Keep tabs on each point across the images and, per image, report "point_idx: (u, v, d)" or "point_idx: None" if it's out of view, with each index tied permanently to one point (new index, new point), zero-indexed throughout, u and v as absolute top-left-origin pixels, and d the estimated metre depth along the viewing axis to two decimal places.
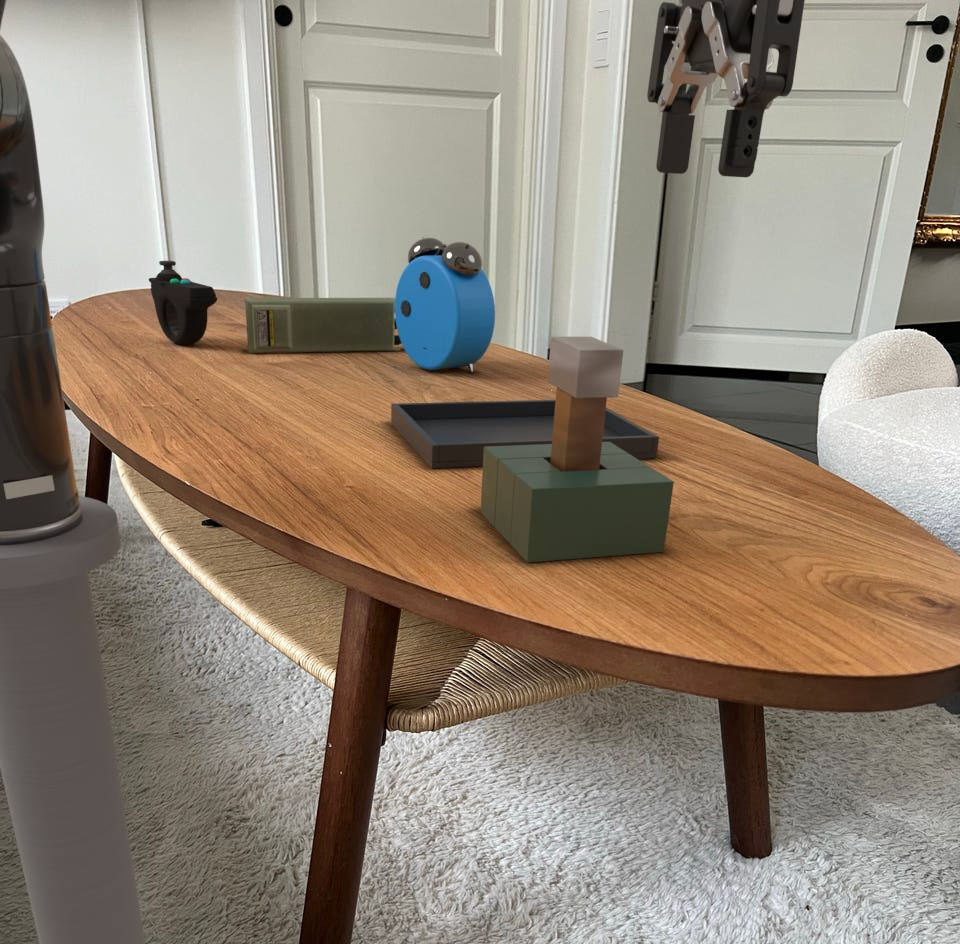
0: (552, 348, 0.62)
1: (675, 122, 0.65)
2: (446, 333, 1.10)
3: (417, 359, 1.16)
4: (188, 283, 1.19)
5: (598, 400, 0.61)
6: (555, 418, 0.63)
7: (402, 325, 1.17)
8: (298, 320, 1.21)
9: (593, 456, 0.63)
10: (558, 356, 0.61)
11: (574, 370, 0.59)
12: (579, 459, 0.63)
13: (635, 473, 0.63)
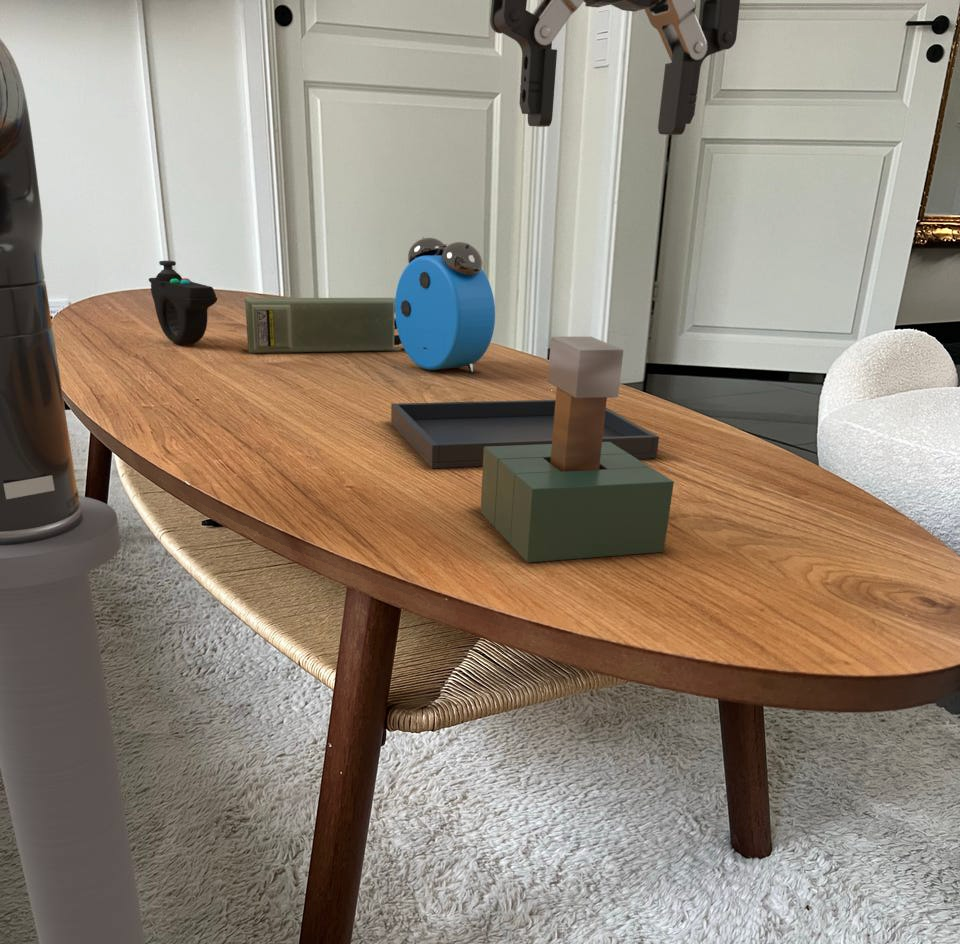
0: (552, 348, 0.62)
1: (670, 73, 0.55)
2: (447, 332, 1.10)
3: (417, 359, 1.16)
4: (188, 283, 1.19)
5: (598, 400, 0.61)
6: (555, 418, 0.63)
7: (402, 325, 1.17)
8: (298, 320, 1.21)
9: (593, 456, 0.63)
10: (558, 356, 0.61)
11: (574, 370, 0.59)
12: (579, 459, 0.63)
13: (635, 473, 0.63)
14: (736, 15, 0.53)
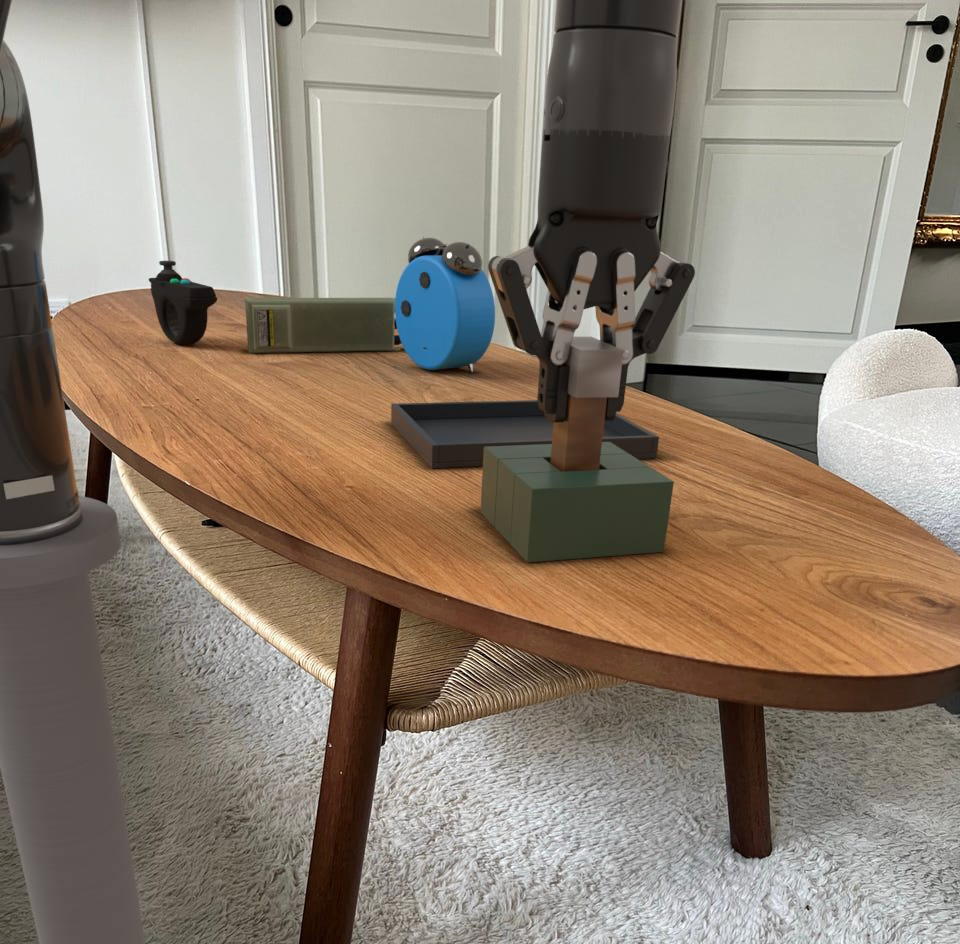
0: None
1: None
2: (447, 332, 1.10)
3: (417, 359, 1.16)
4: (188, 283, 1.19)
5: (598, 400, 0.61)
6: None
7: (402, 325, 1.17)
8: (298, 320, 1.21)
9: (593, 456, 0.63)
10: None
11: (574, 369, 0.59)
12: (579, 459, 0.63)
13: (635, 473, 0.63)
14: (663, 332, 0.61)
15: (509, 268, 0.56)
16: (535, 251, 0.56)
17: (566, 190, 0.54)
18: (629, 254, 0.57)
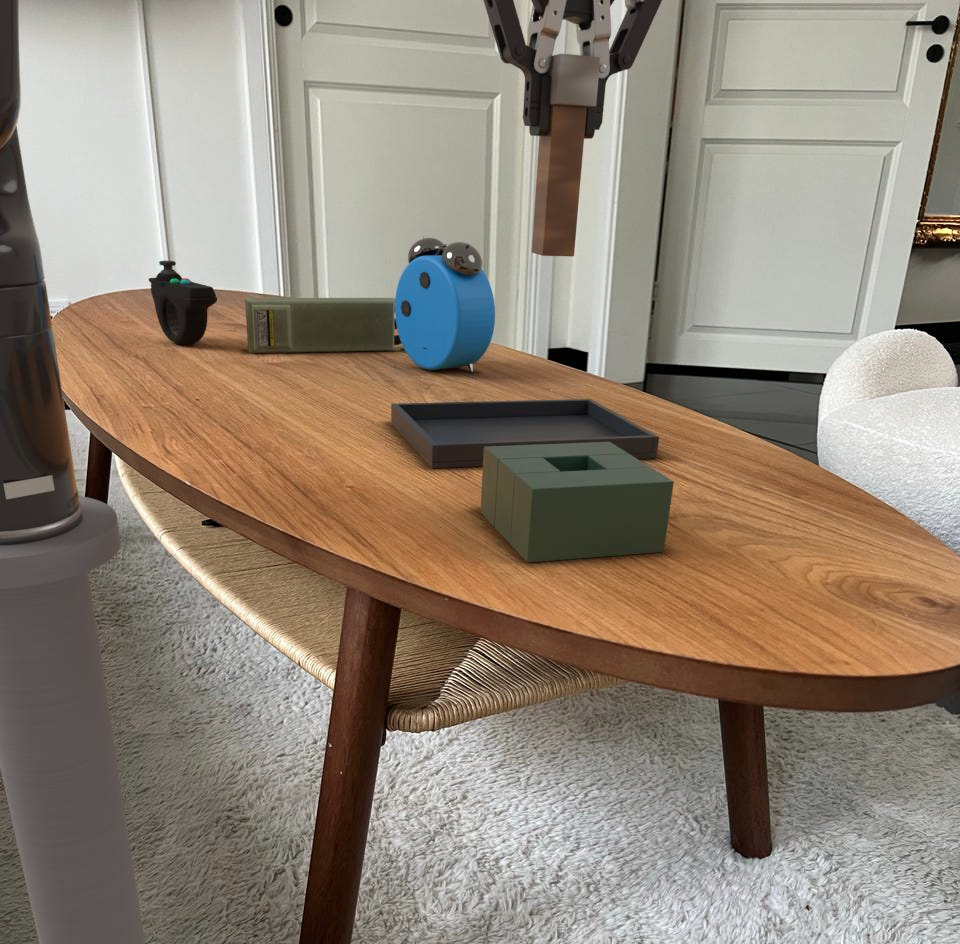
0: None
1: None
2: (447, 332, 1.10)
3: (417, 359, 1.16)
4: (188, 283, 1.19)
5: (578, 113, 0.67)
6: (540, 138, 0.69)
7: (402, 325, 1.17)
8: (298, 320, 1.21)
9: (574, 171, 0.69)
10: None
11: (555, 76, 0.65)
12: (561, 173, 0.69)
13: (635, 473, 0.63)
14: (638, 48, 0.66)
15: None
16: None
17: None
18: None
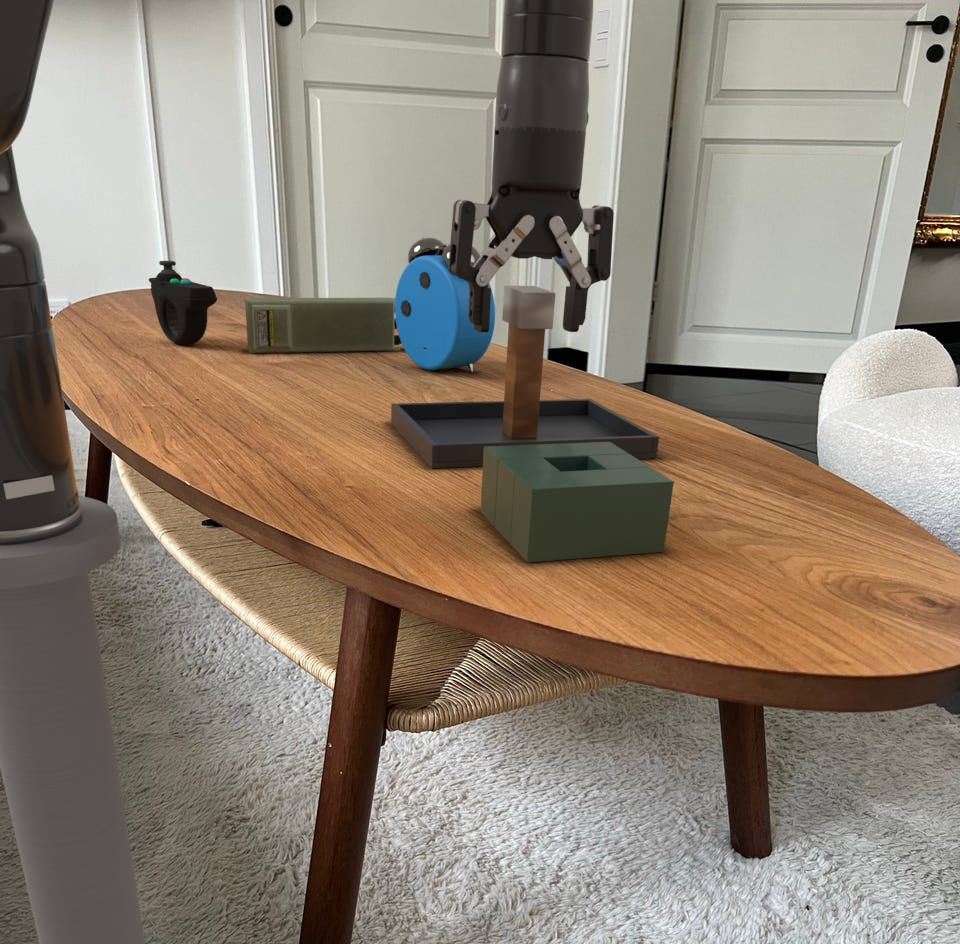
0: (505, 293, 0.84)
1: (568, 293, 0.84)
2: (447, 332, 1.10)
3: (417, 359, 1.16)
4: (188, 283, 1.19)
5: (538, 332, 0.83)
6: (508, 346, 0.85)
7: (402, 325, 1.17)
8: (298, 320, 1.21)
9: (536, 375, 0.84)
10: (509, 299, 0.83)
11: (519, 307, 0.81)
12: (525, 376, 0.84)
13: (635, 473, 0.63)
14: (609, 260, 0.82)
15: (469, 206, 0.76)
16: (490, 207, 0.77)
17: (510, 170, 0.75)
18: (555, 217, 0.78)
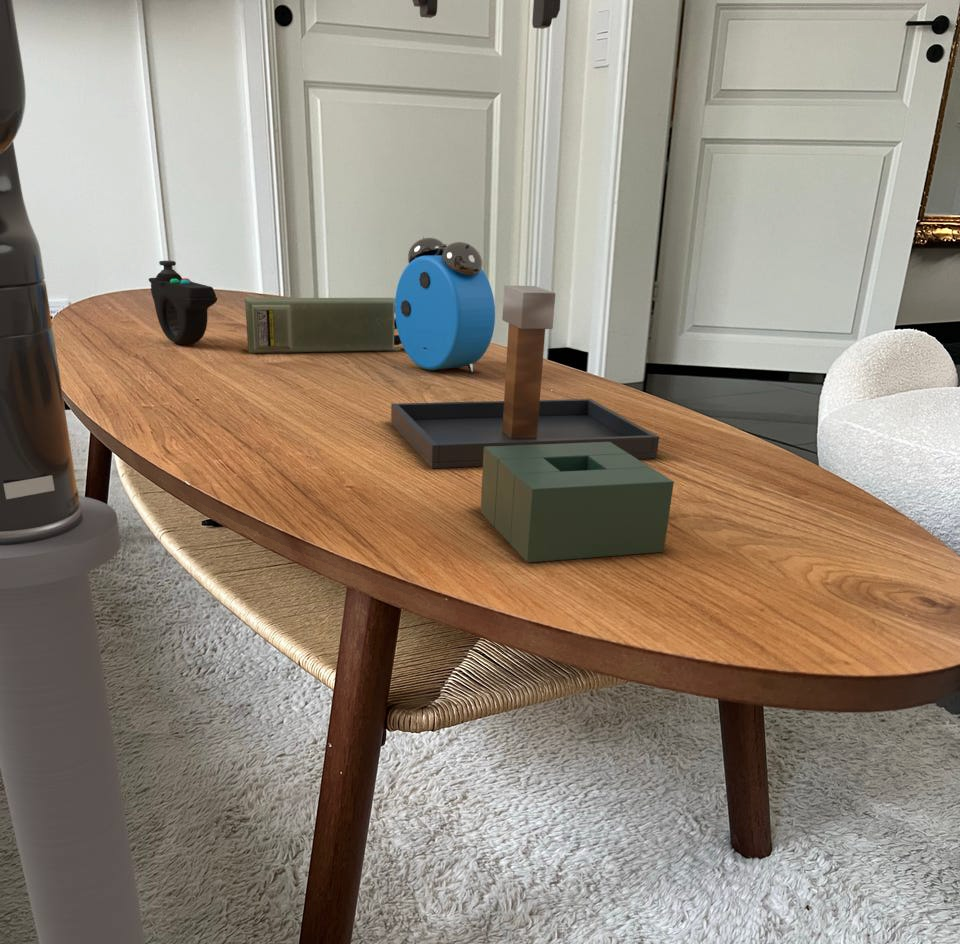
0: (505, 293, 0.84)
1: None
2: (447, 332, 1.10)
3: (417, 359, 1.16)
4: (188, 283, 1.19)
5: (538, 332, 0.83)
6: (508, 346, 0.85)
7: (402, 325, 1.17)
8: (298, 320, 1.21)
9: (536, 375, 0.84)
10: (509, 299, 0.83)
11: (519, 307, 0.81)
12: (525, 376, 0.84)
13: (635, 473, 0.63)
14: None
15: None
16: None
17: None
18: None
